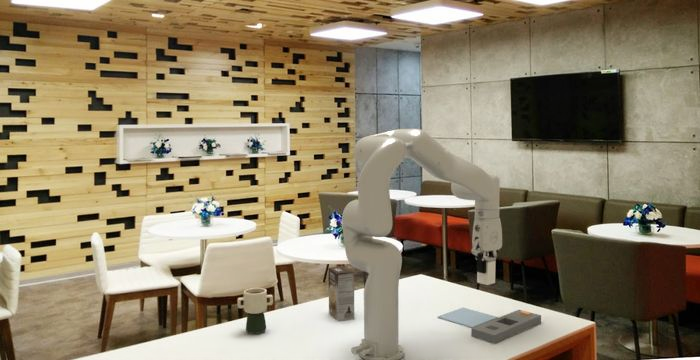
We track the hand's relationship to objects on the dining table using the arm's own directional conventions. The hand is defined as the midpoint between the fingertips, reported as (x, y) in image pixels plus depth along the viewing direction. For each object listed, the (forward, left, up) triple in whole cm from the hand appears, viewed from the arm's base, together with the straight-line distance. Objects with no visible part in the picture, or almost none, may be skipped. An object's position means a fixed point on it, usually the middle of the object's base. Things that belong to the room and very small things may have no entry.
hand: (486, 270), depth 176 cm
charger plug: (0, 0, -4) cm, 4 cm away
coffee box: (-29, +37, -17) cm, 50 cm away
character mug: (-58, +44, -17) cm, 75 cm away
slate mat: (0, +7, -17) cm, 19 cm away
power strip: (0, -8, -17) cm, 19 cm away
